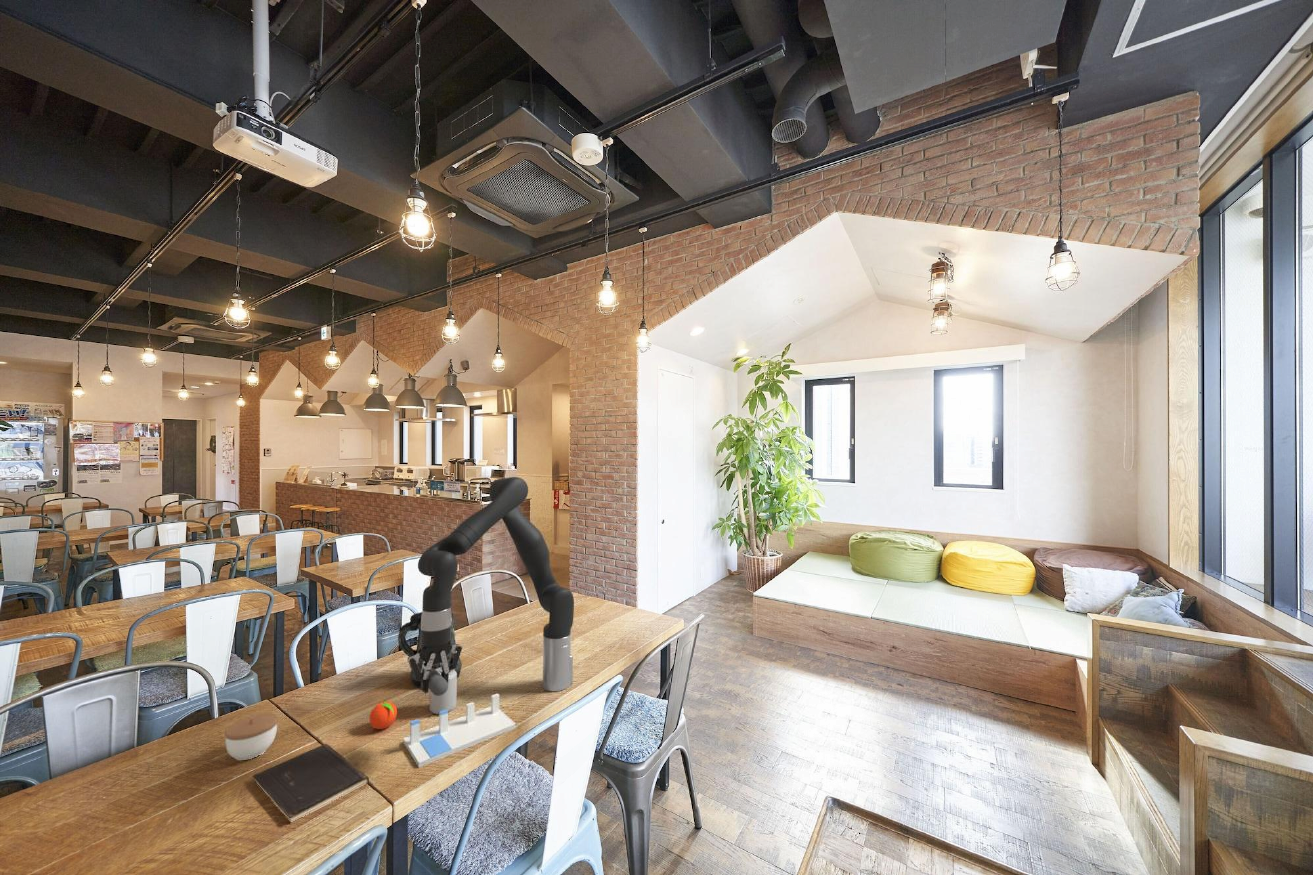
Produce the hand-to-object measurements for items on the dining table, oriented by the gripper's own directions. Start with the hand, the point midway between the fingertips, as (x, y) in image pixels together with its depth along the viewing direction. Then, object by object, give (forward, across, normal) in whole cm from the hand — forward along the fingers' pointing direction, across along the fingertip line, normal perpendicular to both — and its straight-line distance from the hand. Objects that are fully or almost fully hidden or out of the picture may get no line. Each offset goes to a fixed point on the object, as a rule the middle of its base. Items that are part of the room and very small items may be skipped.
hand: (434, 689), depth 130 cm
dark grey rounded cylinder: (0, 0, 0) cm, 0 cm away
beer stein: (+16, -13, -42) cm, 46 cm away
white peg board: (+16, -8, -1) cm, 17 cm away
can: (+16, -9, -18) cm, 26 cm away
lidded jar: (+16, +36, -29) cm, 49 cm away
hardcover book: (+17, +26, -6) cm, 32 cm away
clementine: (+16, +7, -19) cm, 26 cm away
